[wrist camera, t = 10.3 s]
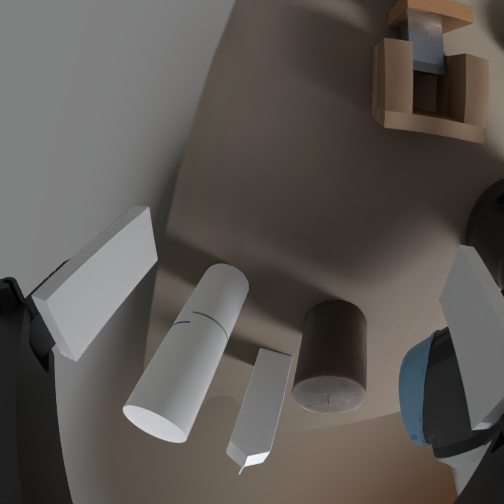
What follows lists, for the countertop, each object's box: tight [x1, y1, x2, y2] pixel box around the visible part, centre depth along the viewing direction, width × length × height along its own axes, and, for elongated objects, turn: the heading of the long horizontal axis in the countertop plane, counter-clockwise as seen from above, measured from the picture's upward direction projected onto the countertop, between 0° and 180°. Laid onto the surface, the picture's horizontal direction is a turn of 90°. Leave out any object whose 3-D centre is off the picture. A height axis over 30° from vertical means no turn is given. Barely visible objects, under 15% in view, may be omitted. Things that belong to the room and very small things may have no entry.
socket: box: [371, 38, 489, 144], centre depth 24 cm, size 10×8×9 cm
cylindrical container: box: [123, 264, 249, 443], centre depth 37 cm, size 7×7×25 cm
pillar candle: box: [292, 301, 367, 414], centre depth 41 cm, size 10×10×15 cm
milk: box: [226, 348, 292, 474], centre depth 46 cm, size 6×6×22 cm
